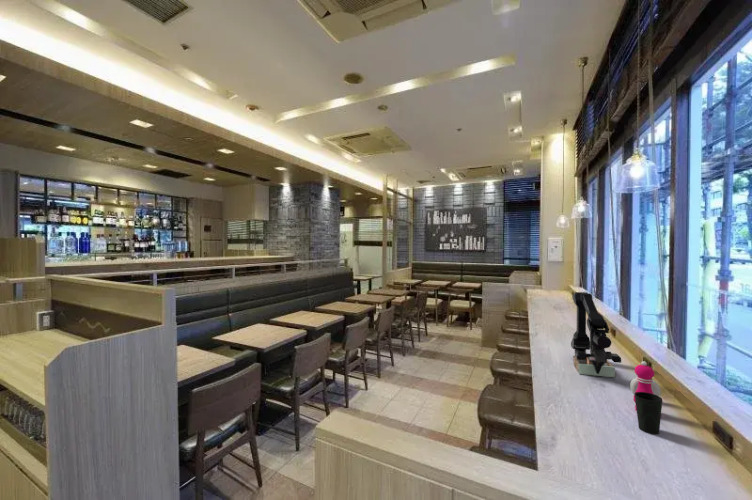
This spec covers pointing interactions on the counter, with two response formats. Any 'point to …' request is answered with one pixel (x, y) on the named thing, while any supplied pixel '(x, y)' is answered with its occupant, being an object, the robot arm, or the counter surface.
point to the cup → (648, 412)
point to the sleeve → (576, 362)
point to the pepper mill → (644, 378)
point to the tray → (590, 370)
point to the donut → (654, 387)
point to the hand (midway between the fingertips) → (597, 373)
